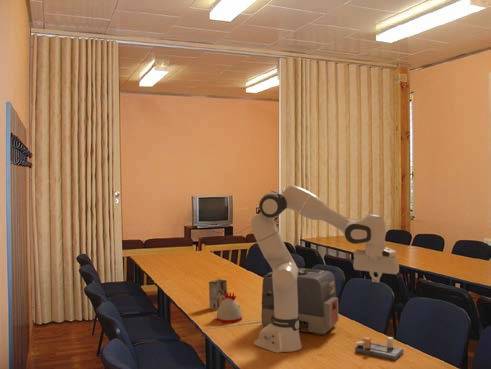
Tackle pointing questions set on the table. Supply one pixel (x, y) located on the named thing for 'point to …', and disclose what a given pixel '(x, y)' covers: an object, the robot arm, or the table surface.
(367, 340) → the fader orange
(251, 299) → the table surface
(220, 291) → the coffee box
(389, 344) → the fader ivory
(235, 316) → the kitchen timer
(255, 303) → the table surface
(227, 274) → the table surface
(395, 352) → the console
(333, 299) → the film projector
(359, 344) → the plate
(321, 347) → the table surface
